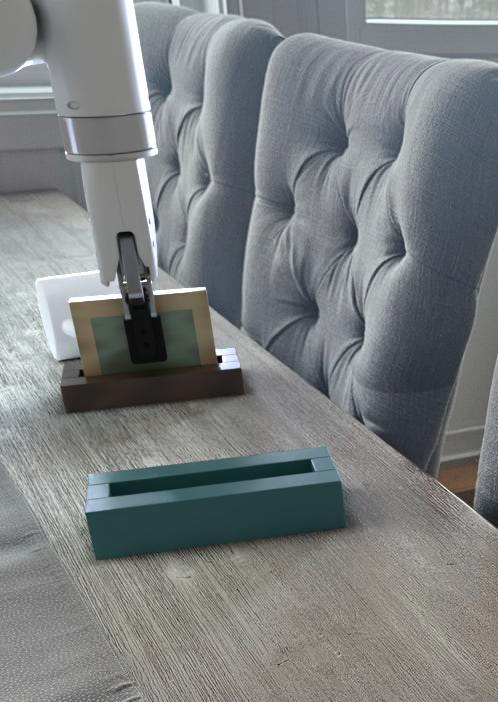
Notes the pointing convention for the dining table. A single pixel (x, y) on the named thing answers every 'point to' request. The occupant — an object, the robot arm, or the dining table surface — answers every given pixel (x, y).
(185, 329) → the frame
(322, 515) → the holder
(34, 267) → the dining table surface
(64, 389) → the rack
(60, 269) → the dining table surface
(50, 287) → the white bread box
